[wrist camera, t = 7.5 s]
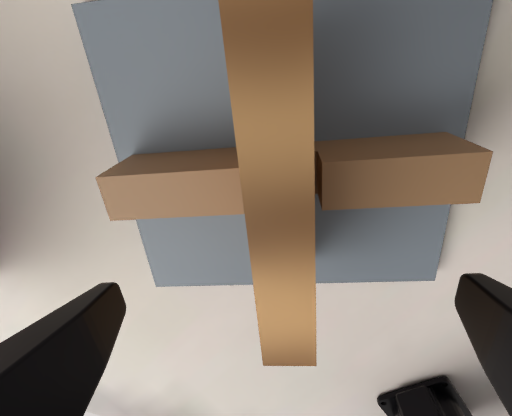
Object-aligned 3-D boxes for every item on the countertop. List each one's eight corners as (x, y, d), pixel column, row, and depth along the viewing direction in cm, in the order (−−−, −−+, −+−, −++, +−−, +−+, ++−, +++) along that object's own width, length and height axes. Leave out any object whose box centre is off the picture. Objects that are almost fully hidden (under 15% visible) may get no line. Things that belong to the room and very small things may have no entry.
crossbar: (304, 260, 21) (316, 365, 13) (269, 261, 21) (263, 365, 14) (297, 24, 15) (312, -13, 7) (248, 29, 15) (218, -1, 8)
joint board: (489, -47, 14) (591, -100, 9) (428, 271, 21) (467, 326, 17) (82, 7, 16) (5, -15, 11) (160, 278, 24) (132, 328, 19)
